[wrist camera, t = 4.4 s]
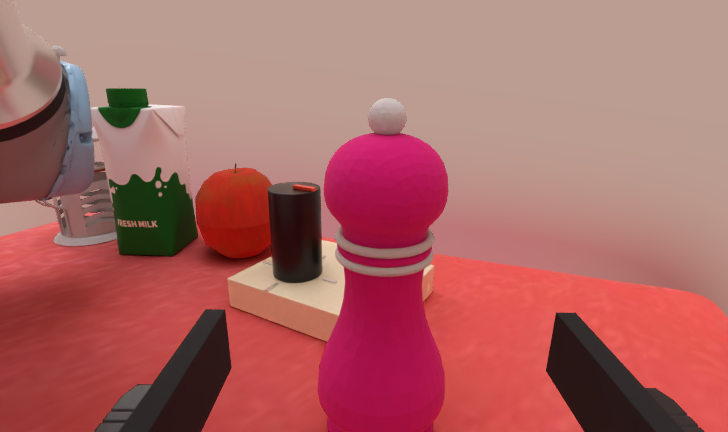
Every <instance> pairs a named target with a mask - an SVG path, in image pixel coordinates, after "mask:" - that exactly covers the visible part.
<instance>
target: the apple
mask: <svg viewBox="0 0 728 432" xmlns="http://www.w3.org/2000/svg"><path fill="white" fill-rule="evenodd" d="M270 186H272V184H271V183H270V181H269V180H268V178H267V177H266V176H264V175H263V174H261V173H260V172H258V171H257V170H255V169H252V168H237V169H236V164H235V169H228V170H223V171H220V172H216V173H214V174H213V175H212V176H210V177H209V178H208V179H207V180H206V181H204V183H203V184H202V186H201V188H200V190H199V192H198V193H197V195H196V201H195V202H196V220H197V224H198V226H199V229H200V231H201V234H202V236H203V239H204V241H205V244H206V245H207V246H209V247H211V248H213V249H214V250H216V251H218V252H219V253H221V254H223V255H224V256H226V257H229V258H248V257H252V256H256V255H258V254H261V253H262V252H263V251H264V250H265V249H266V248H267V247H268V246H269V245H270V244H271V236H270V221H269V206H268V191H267V189H268V187H270Z"/></svg>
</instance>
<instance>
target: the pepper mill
mask: <svg viewBox="0 0 728 432" xmlns="http://www.w3.org/2000/svg"><path fill="white" fill-rule="evenodd" d="M368 120H369V126H370V127H371V129H372V130H373V131H374V133H371V134H366V135H362V136H359V137H356V138H354V139H352V140H350V141H348V142H347V143H345V144H344V145H342V146H341V147H340V148H339V149H338V150H337V151H336V152H335V154H334V155H333V157H332V158H331V160H330V161H329V164H328V167H327V170H326V173H325V183H324V196H325V202H326V205H327V207H328V209H329V210H330V212H331V214H332V215H333V216H334V217H335V218H336V219H337V220H338V221H339V223H340V224H341V227H340V228H339V229H338V230H337V231H336V234H335V240H336V242H337V248H336V251H335V257H336V259H337V260H338V262H339V263H340V264H341V265H342V266H344V275H345V287H344V298H343V303H342V306H341V310H340V314H339V317H338V319H337V322H336V324H335V327H334V329H333V331H332V333H331V335H330V337H329V340H328V342H327V344H326V346H325V349H324V352H323V355H322V359H321V362H320V366H319V378H318V394H319V399H320V404H321V406H322V408H323V410H324V411H325V413H326V415H327V416H328V422H327V426H328V432H433V421H434V420H435V419H436V417H437V416H438V414H439V413H440V410H441V408H442V405H443V401H444V393H445V380H444V370H443V365H442V361H441V356H440V353H439V350H438V348H437V346H436V343H435V341H434V338H433V336H432V334H431V331H430V328H429V325H428V323H427V320H426V316H425V311H424V306H423V292H422V281H423V274H424V269H425V268H426V267H428V266H429V264H430V263H431V262H432V260H433V252H432V245H433V243H434V235H433V233H432V232H431V231H430V230H429V229H428V228H429V226H430V225H431V224H432V223H433V222H434V221H435V220H436V219H437V218H438V217H439V216H440V215H441V213H442V212H443V210H444V207H445V205H446V202H447V196H448V176H447V173H446V170H445V166H444V163H443V161H442V160H441V158H440V156H439V155H438V153H437V152H436V151H435V150H434V149H433V148H432V147H431V146H430V145H428V144H427V143H425V142H423V141H422V140H420V139H418V138H415V137H413V136H410V135H406V134H402V133H400V132H401V131H402V129H403V128H404V126H405V123H406V112H405V109H404V107H403V106H402V104H401V103H399V102H398V101H397V100H394V99H390V98H383V99H381V100H379V101H377V102H376V103H375V104H374V105H373V106H372V107H371V109H370V111H369V115H368Z"/></svg>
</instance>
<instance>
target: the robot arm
mask: <svg viewBox="0 0 728 432" xmlns="http://www.w3.org/2000/svg"><path fill="white" fill-rule="evenodd" d="M93 178H94V144H93V138H92V117H91V109H90V101H89V94H88V89H87V84H86V79H85V76H84V73H83V71H82V70H81V69H80V68H79V67H78V66H76V65H74V64H68V63H66V62H64V61H59V60H58V58H57V56H56V54H55V52H54V50H53V48H52V47H51V46H50V45H49V44H48V43H47V42H46V40H44V39H43V38H42V37H41V36H40V35H38V34H37V33H35V32H34V31H33V30H31V29H29V28H28V27H26V26H24V25H23V23H22V20H21V17H20V14H19V11H18V8H17V5H16V2H15V0H0V203H11V202H21V201H31V200H39V201H46V200H49V199H52V198H53V197H58V196H65V195H72V194H78V193H81V192H83V191H85V190H86V189H87V188H89V186H90V185H91V183H92V181H93ZM230 370H231V359H230V350H229V341H228V332H227V323H226V314H225V310H205V311H204V313H203V314H202V315H201V317H200V318H199V320H198V321H197V322H196V324H195V325H194V327H193V328H192V329H191V331H190V332H189V334H188V335H187V336H186V338H185V339H184V341H183V342H182V343H181V345H180V346H179V348H178V349H177V350H176V352H175V353H174V355H173V356H172V357H171V359H170V360H169V362H168V363H167V364H166V366H165V367H164V369H163V370H162V371H161V373H160V374H159V376H158V377H157V378H156V380H155V381H154V383H153V384H152V385H147V384H137V385H136V386H135V387H133V388H132V389H131V390H129V391H128V392H127V393H125V394H124V395H123V396H122V397H121V398H120V399H119V400H118V402H117V403H116V404H115V405H114V407H113V408H112V409H111V412H109V413H108V414H107V416H106V417H105V418H104V419H103V422H102V423H100V425H99V426H98V427H97V428H96V430H95V431H94V432H201V431H202V429H203V427H204V424H205V422H206V420H207V418H208V416H209V414H210V412H211V410H212V408H213V406H214V403H215V401H216V399H217V397H218V395H219V393H220V391H221V389H222V387H223V385H224V382H225V380H226V378H227V376H228V374H229V372H230ZM546 372H547V373H548V375H549V376H550V378H551V379H552V381H553V383H554V384H555V386H556V387H557V389H558V391H559V392H560V394H561V395H562V397H563V399H564V400H565V402H566V403H567V405H568V406H569V408H570V410H571V411H572V413H573V414H574V416H575V418H576V419H577V421H578V422H579V424H580V425H581V427H582V429H583V430H584V432H704V431H703V430H702V429H701V428H698V425H697V424H696V423H695V422H694V421H693V420H692V419H691V418H690V417H689V416H687V413H686V412H685V411H684V410H683V409H682V408H681V407H680V406H679V405H678V404H677V403H676V402H675V401H674V400H673V399H671V398H669V397H668V396H666V395H665V394H663V393H662V392H660V391H659V390H657V389H656V388H644V387H643V386H642V385H641V383H640V382H639V381H638V380H637V379H636V378H635V377H634V376H633V375H632V374H631V373H630V372H629V370H628V369H627V368H626V367H625V366H624V365H623V364H622V363H621V362H620V361H619V360H618V359H617V357H616V356H615V355H614V354H613V353H612V352H611V351H610V350H609V349H608V348H607V347H606V345H605V344H604V343H603V342H602V341H601V340H600V339H599V338H598V337H597V336H596V335H595V334H594V332H593V331H592V330H591V329H590V328H589V327H588V326H587V325H586V324H585V323H584V322H583V321H582V319H581V318H580V317H579V316H578V315H577V314H576V313H556V317H555V322H554V328H553V334H552V340H551V345H550V351H549V357H548V363H547V368H546Z"/></svg>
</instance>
